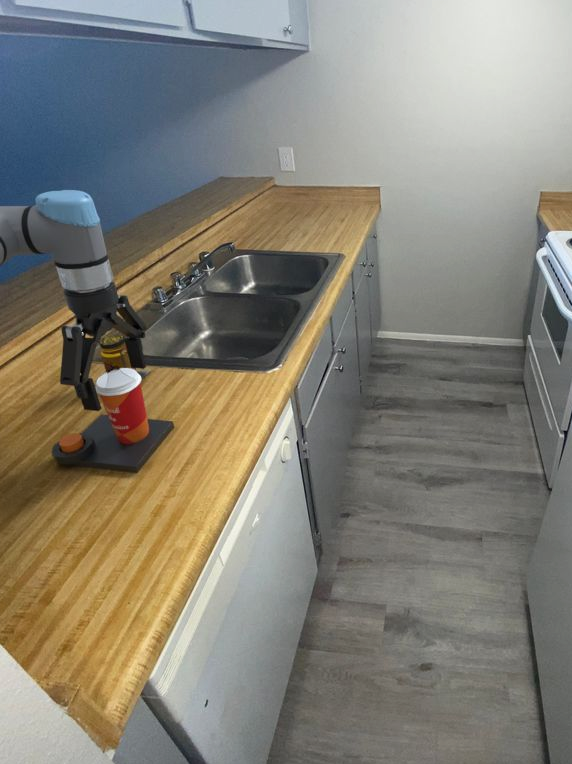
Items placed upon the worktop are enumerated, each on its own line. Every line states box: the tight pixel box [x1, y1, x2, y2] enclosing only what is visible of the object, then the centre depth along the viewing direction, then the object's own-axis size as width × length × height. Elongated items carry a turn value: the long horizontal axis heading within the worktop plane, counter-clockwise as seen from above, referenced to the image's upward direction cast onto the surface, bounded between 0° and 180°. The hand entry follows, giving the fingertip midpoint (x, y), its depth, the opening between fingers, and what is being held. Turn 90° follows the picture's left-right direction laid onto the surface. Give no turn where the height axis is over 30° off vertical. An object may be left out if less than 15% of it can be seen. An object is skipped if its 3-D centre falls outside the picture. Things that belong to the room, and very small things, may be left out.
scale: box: [51, 413, 175, 474], centre depth 94 cm, size 17×14×4 cm
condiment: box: [99, 334, 152, 382], centre depth 112 cm, size 7×8×12 cm
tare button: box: [58, 432, 84, 453], centre depth 90 cm, size 4×4×2 cm
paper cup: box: [95, 368, 149, 444], centre depth 92 cm, size 8×8×14 cm
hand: (117, 386), depth 90 cm, fingers open, 13 cm apart
